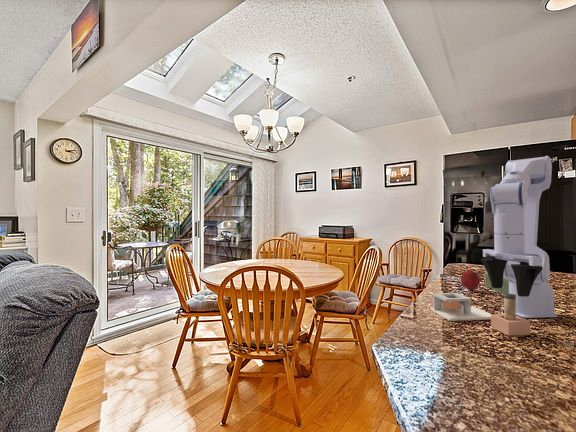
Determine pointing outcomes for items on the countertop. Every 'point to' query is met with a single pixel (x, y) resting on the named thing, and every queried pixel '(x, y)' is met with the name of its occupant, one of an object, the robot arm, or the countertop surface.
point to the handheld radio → (501, 290)
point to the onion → (470, 279)
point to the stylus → (509, 306)
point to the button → (452, 304)
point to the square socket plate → (458, 313)
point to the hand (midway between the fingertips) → (509, 291)
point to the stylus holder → (510, 325)
